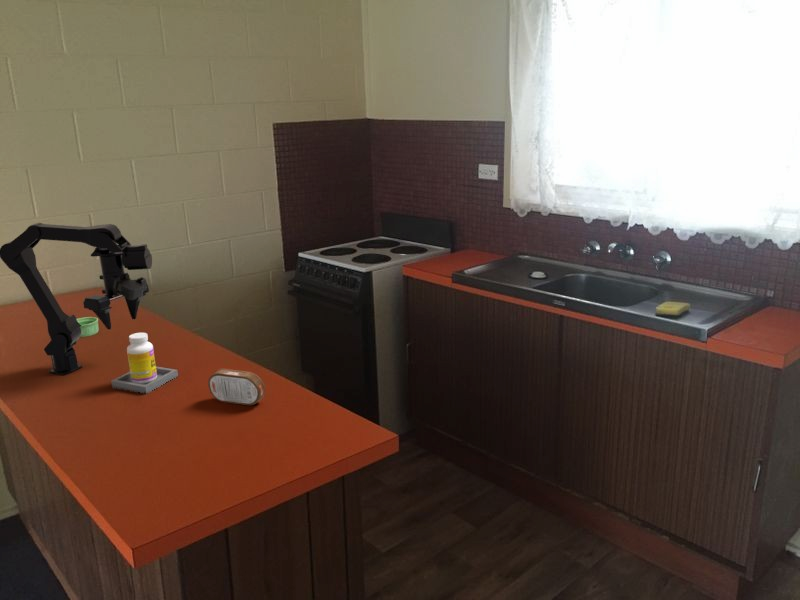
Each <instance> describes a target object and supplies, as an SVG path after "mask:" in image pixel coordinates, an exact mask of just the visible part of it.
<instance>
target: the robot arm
mask: <svg viewBox="0 0 800 600" xmlns="http://www.w3.org/2000/svg"><path fill="white" fill-rule="evenodd" d="M41 240H42V241H43V240H45V241H59V242H71V243H72V242H74V243H81V244H82V243H83V244H85V245H88V246H91V247H94V248H95V249H94V251H93V252H92V253H90V257H92V258H93V257H94V258H95V257H99V263H100V269H101V274H100V275H98V276H99V277H98V278H99V280H103V287H104V288H103V289H101V293H102V294H103V295H101V294H93V295H90V296H87V297H84V299H83V308H84V309H88V311H92V312H93V313H94V314H95V315H96V316H97V318H98V320H100V321H101V322H102V324H103V325H104V327H105V328H106V329H107V330H112V322H111V313H110V312H111V310H112V308H113V306H110V305H111V301H115V300H116V299H120V298H123V297H124V300H125V302H126V305H127V309H128V312H129V315H130V317H131V319H132V320H136V319H137V314H138V311H139V306H140V303H141V302H140V301H141V300H142V299H143V298H144V297H146V295H147V293H149V292H150V288H149V285H148V283H147V279H146V278H145V277H139V278H137V279H131V278H130V274H129V272H125V269H126V270H128V271H136V270H139V271H140V270H150V269H151V268H152V266H153V256H152V254H151V251H150V249H149V248H148V244H139V245H132V244H131V243H130V241H128V239H126V237H124V235H123V234H122V232H121V230H120V228H119V227H118V226H117V225H115V224H112V223H108V224H106V223H105V224H97V225H91V226H77V225H76V226H75V225H61V224H60V225H59V224H49V223H48V224H47V223H42V222H36V223H33V224H31V225H29V226H27V228H26V229H25V230H24V231H23V232H22V233H21V234H19V235H18V236H17V237H16V238H14V239H13V240H12V241H11V240H10V241H9V242H6V243H4V244H2V245H1V246H0V260H1V261H2V262H3V263H4V264H5V265H6V267H7V268H8V269H9V270H11V271H12V272H14V273H15V274H16V275H18V276H19V277H20V279H21V281H22V282H23V284H24V286H25V287H26V289H27V290H28V292H29V294H30V296H31V297H32V299H33V300H34V302H35V303H36V305H37V307H38V308H39V310H40V312H41V314H42V315H43V317H44V318H45V321H46V325H47V333H48V335H49V339H50V341H49V342H48V344H47V345H46V346H45V347H44V348H43V350H44V352H45V354H46V355H47V356H50V360H51V362H52V363H51V364H52V368H51V369H49V370H48V373H49V374H50V373H51V374H56V375H60V376H61V375H62V376H65V375H66V376H67V375H68V374H70V373H72V372H74V371H77V370H79V369H81V368H83V365H82V364H79V363H78V357H77V354H76V349H75V348H74V346H76V344H77V342H78V340H79V339H80V338H81V337H80V335H81V329H80V327H81V325H80V324H79V323H78V322H77V319H78V318H77V317H76V315H75V314H71V315H68V314H67V313H65V312H64V310H63V309H62V308H61V306H60V304H59V303H58V301H57V299H56V297H55V296H54V294H53V292H52V291H51V289H50V287H49V285H47V282H46V280H45V279H44V278H43V275H42V274H41V273H40V271H39V269H38V267H37V257H36V254H35V251H34V248H35V247H36V246H37V245H39V243H40V241H41Z"/></svg>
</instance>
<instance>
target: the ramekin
mask: <svg viewBox="0 0 800 600" xmlns="http://www.w3.org/2000/svg"><path fill="white" fill-rule="evenodd" d="M76 319H77V322H78V323H79V324H80V325H81V327H80V329H81V335H80V337H79V338H86V337H87V338H88V337H90V336H94V335H96V334H97V333H98V332H99V317H94V316H87V317H86V316H85V317H79V318H76Z"/></svg>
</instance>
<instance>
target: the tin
mask: <svg viewBox="0 0 800 600" xmlns="http://www.w3.org/2000/svg"><path fill="white" fill-rule="evenodd" d="M207 382H208V383H207V384H208V389H209V392H210V394H211V395H212V396H213V397H214V398H215V399H216V400H217V401H219V402H222V403H230V404H236V405H243V406H254V405H255V404H257V403H258V402H259V401H261V400H263V398H264V396H265V394H266V387H265V384H264V382H263V380H262V379H261V378H260V376H258V375H257V374H256V373H253V372H251V371H244V370H235V369H230V368H219V369H217V370H216V371H214V372H213V374H211V375H210V376H209V378H208V381H207Z"/></svg>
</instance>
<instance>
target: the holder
mask: <svg viewBox="0 0 800 600" xmlns="http://www.w3.org/2000/svg"><path fill="white" fill-rule="evenodd" d="M156 371H157V378H156V379H155V380H154V381H152V382H150V383H145V384H137V383H133V382H132V380H131V374H130V371H128V372H126V373H123V375H120V376H118V377H116V378H114V379H111V380H110V381H111V387H112V389H116V388H117V389H118V390H122V389H123V390H122V391H127V390H130V391H129V392H133V391H134V393H138V392H140V393H139V394H144V393H146V394H145V395H147V393H148V394H150V393H151V392H153V391H155V390H157V389H158V388H160V387H162V386H163V384H164V385H165V383H166V382H168V381H169V382H171V381H173V380H175V379H177V378H178V377H179V373H178V369H174V368H168V367H167V368H166V367H161V366H156ZM177 376H178V377H177ZM176 377H177V378H176ZM174 378H175V379H174ZM172 379H173V380H172ZM170 380H171V381H170ZM169 382H168V383H169ZM166 384H167V383H166ZM161 385H162V386H161ZM156 388H157V389H156ZM154 389H155V390H154ZM152 390H153V391H152Z"/></svg>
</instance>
